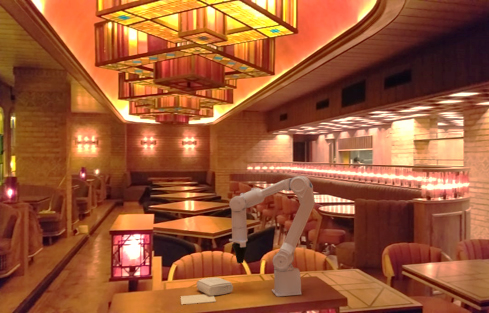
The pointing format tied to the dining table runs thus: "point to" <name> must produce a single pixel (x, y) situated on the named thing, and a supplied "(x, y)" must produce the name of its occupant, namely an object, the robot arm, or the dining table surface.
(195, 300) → the mat
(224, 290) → the photo printer
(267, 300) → the dining table surface
